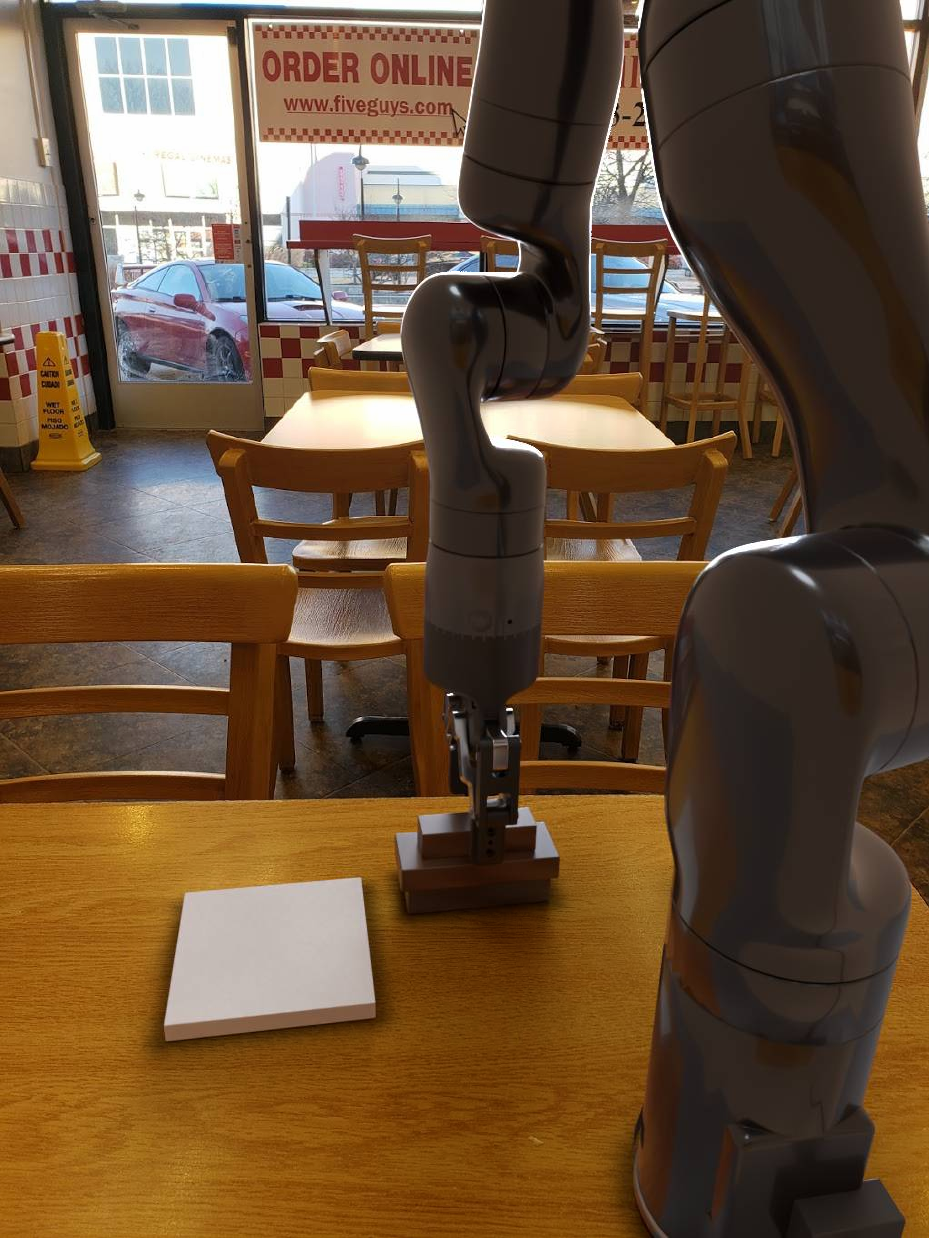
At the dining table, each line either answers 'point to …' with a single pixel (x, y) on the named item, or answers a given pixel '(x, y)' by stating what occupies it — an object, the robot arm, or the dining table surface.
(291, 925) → the tile
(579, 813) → the dining table surface
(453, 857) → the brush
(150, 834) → the dining table surface
